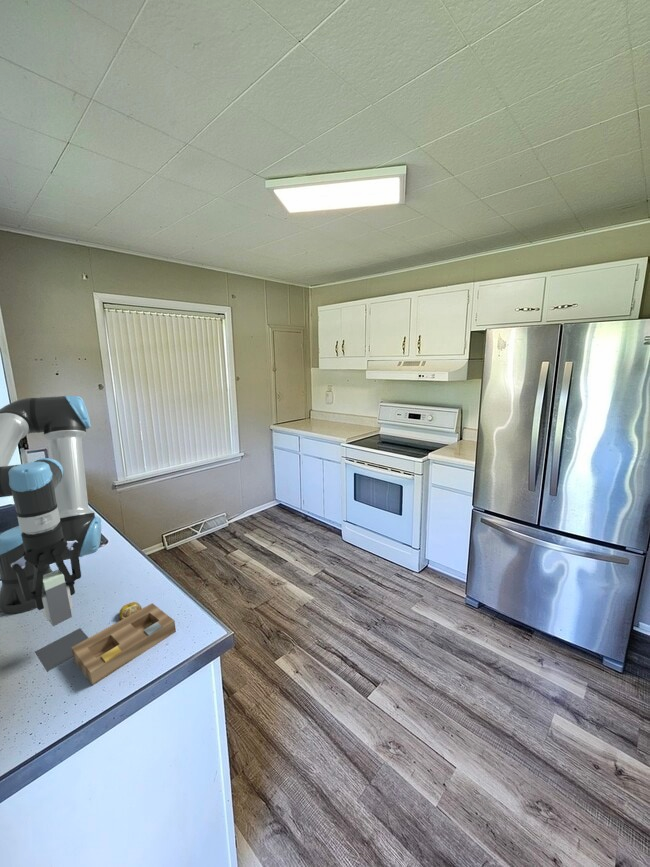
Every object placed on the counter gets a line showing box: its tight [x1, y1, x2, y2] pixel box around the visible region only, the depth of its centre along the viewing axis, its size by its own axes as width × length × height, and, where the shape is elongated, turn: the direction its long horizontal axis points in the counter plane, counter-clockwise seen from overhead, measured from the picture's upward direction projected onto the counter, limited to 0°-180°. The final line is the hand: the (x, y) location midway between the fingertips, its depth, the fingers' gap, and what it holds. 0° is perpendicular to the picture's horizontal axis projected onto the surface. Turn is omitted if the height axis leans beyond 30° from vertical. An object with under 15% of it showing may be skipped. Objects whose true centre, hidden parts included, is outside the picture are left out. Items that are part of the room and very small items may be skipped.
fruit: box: [118, 601, 143, 621], centre depth 101 cm, size 8×8×4 cm
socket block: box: [71, 603, 177, 686], centre depth 90 cm, size 12×20×4 cm, turn 142°
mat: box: [34, 627, 89, 672], centre depth 90 cm, size 10×10×1 cm
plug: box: [42, 569, 73, 627], centre depth 88 cm, size 4×4×12 cm
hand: (58, 612), depth 89 cm, fingers closed on plug, 4 cm apart
